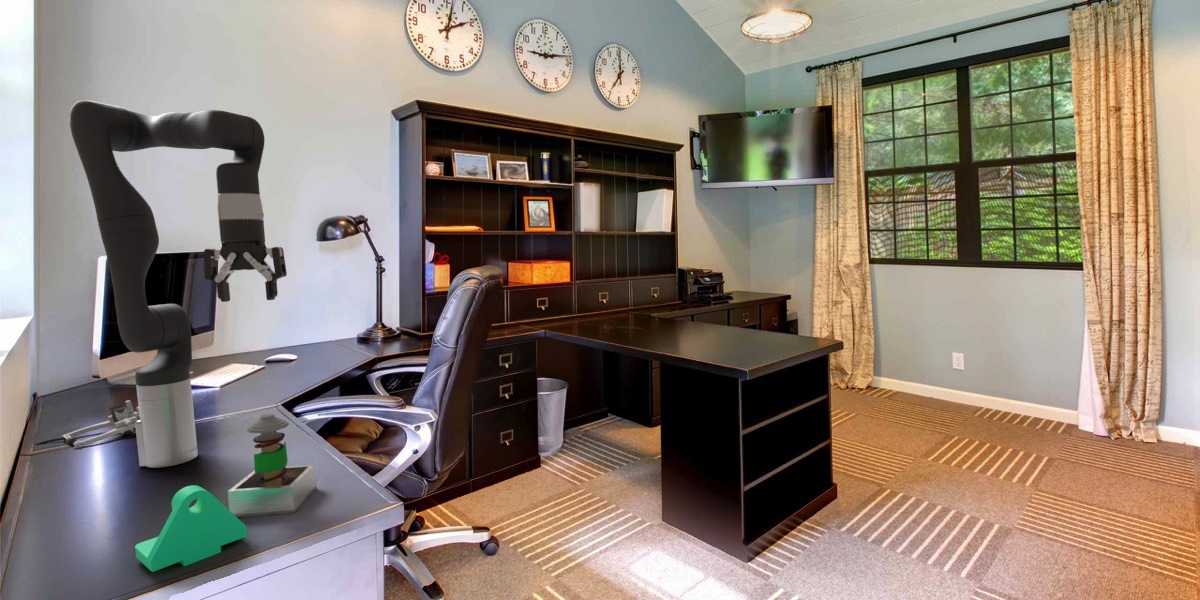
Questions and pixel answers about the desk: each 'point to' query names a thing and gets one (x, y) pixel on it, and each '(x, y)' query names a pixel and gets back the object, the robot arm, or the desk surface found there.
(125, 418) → the bike brake
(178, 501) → the camera mount
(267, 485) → the shock absorber
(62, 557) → the desk surface
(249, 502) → the square tray
